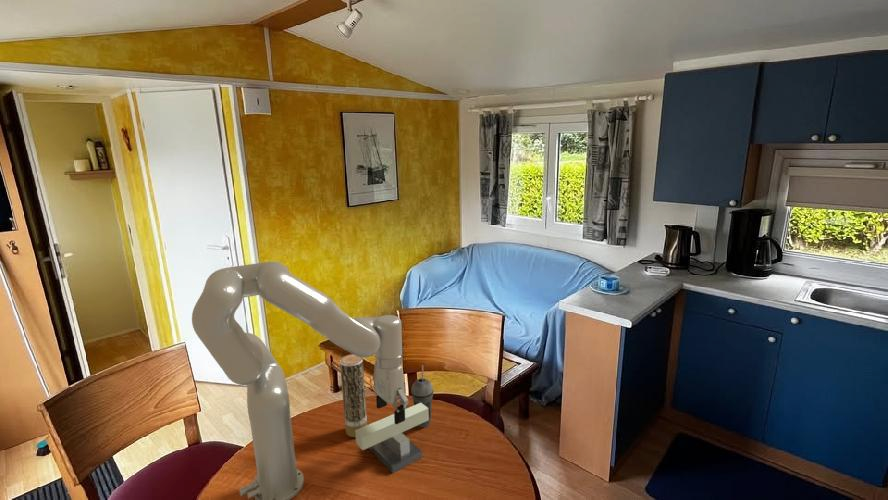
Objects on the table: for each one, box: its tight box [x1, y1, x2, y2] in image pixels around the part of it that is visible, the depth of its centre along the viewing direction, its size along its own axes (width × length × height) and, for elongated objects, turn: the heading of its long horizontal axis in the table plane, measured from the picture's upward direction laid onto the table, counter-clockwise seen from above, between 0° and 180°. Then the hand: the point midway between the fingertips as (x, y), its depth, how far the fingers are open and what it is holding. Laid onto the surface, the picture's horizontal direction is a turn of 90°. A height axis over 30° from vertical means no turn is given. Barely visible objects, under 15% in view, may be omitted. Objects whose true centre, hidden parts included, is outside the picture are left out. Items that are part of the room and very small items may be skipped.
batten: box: [355, 403, 429, 451], centre depth 128 cm, size 22×4×4 cm, turn 127°
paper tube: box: [339, 353, 368, 438], centre depth 136 cm, size 7×7×25 cm
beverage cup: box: [410, 364, 434, 428], centre depth 141 cm, size 7×7×20 cm
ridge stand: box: [368, 432, 423, 474], centre depth 129 cm, size 10×14×7 cm
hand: (390, 414), depth 126 cm, fingers open, 9 cm apart
